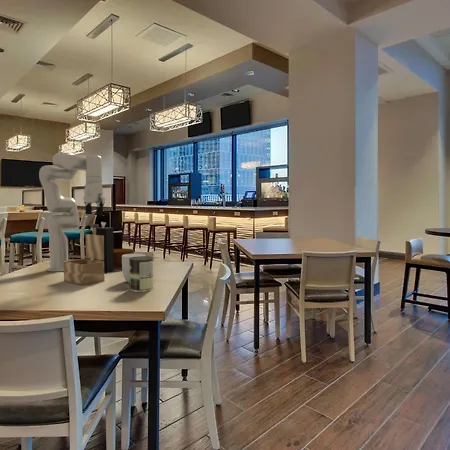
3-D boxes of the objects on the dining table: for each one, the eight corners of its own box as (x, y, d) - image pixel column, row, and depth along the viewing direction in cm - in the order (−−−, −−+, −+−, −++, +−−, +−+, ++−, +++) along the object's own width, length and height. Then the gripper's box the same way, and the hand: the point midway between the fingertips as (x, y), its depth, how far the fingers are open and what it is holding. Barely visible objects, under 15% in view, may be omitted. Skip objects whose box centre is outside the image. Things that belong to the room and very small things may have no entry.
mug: (150, 277, 184) (149, 252, 183) (155, 282, 174) (155, 255, 173) (120, 280, 177) (119, 254, 176) (124, 285, 167) (124, 257, 166)
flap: (84, 223, 183) (87, 223, 184) (84, 257, 184) (88, 257, 185) (101, 224, 174) (104, 224, 175) (101, 260, 175) (105, 260, 176)
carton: (64, 280, 176) (63, 261, 175) (86, 277, 185) (85, 258, 185) (81, 285, 166) (81, 264, 166) (104, 281, 176) (104, 261, 175)
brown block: (140, 266, 218) (140, 249, 218) (117, 270, 204) (117, 253, 203) (120, 263, 228) (120, 247, 227) (97, 267, 213) (97, 250, 212)
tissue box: (107, 273, 195) (106, 222, 193) (93, 272, 196) (92, 222, 195) (114, 270, 203) (113, 221, 201) (101, 270, 204) (100, 221, 203)
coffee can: (127, 292, 153) (127, 259, 152) (131, 286, 163) (131, 256, 163) (151, 291, 154) (151, 259, 153) (154, 286, 164) (154, 256, 163)
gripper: (77, 180, 181) (77, 214, 182) (97, 179, 170) (97, 215, 171) (90, 181, 187) (91, 213, 188) (110, 180, 176) (111, 215, 177)
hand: (94, 214), depth 180 cm, fingers open, 9 cm apart
